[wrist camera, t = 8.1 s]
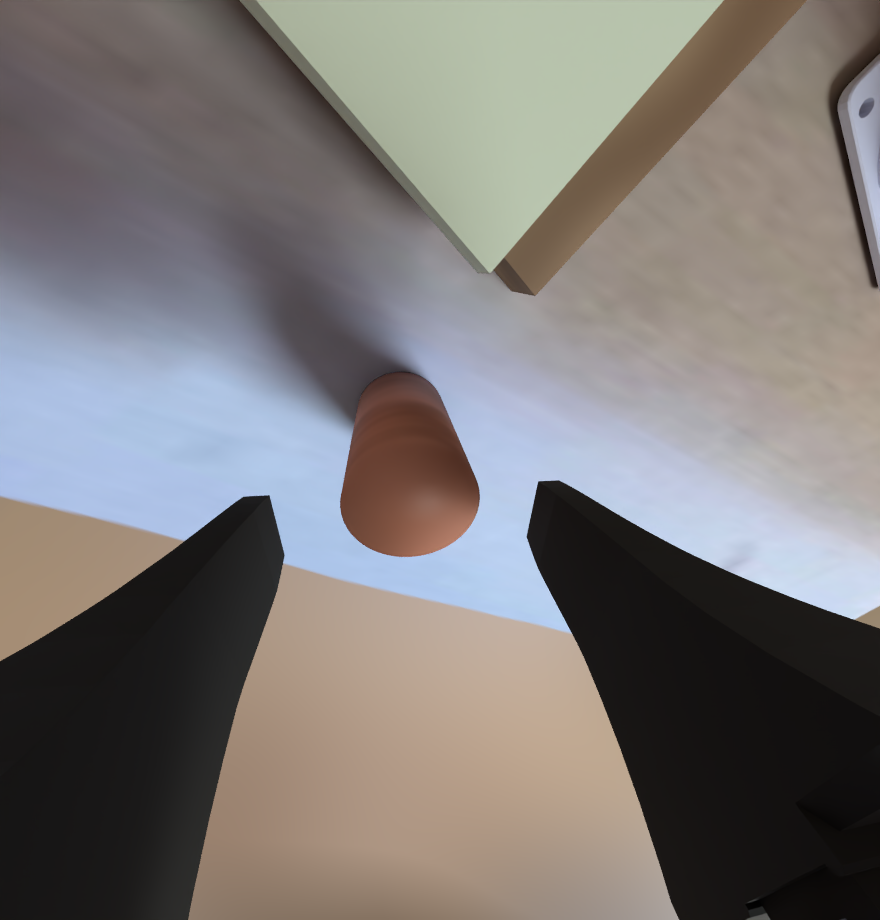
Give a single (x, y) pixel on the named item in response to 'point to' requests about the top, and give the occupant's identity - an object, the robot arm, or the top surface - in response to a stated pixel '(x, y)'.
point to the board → (644, 137)
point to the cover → (482, 93)
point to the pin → (406, 471)
